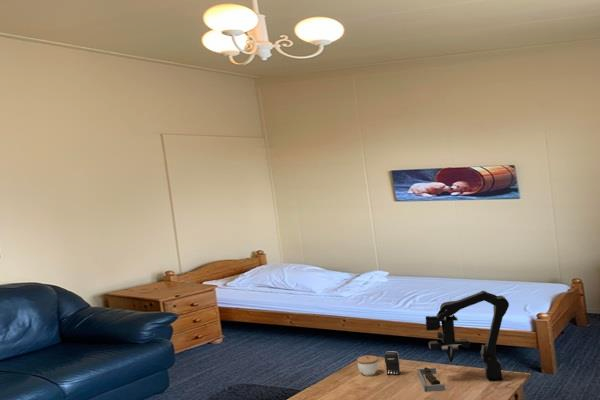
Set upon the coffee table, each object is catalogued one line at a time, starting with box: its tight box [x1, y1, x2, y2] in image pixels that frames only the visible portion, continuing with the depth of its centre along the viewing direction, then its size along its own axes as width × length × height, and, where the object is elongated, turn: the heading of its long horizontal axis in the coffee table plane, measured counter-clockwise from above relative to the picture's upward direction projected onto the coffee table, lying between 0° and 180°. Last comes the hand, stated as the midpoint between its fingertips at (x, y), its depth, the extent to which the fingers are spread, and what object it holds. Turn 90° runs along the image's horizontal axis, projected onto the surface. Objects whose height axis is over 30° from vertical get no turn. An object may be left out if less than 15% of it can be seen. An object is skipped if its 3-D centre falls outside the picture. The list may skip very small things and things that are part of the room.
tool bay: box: [417, 367, 446, 392], centre depth 281 cm, size 9×24×2 cm, turn 177°
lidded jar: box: [356, 354, 379, 377], centre depth 300 cm, size 11×11×9 cm
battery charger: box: [384, 350, 401, 376], centre depth 296 cm, size 7×4×11 cm, turn 70°
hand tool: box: [423, 367, 441, 385], centre depth 281 cm, size 19×4×5 cm, turn 0°
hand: (450, 362), depth 280 cm, fingers closed
